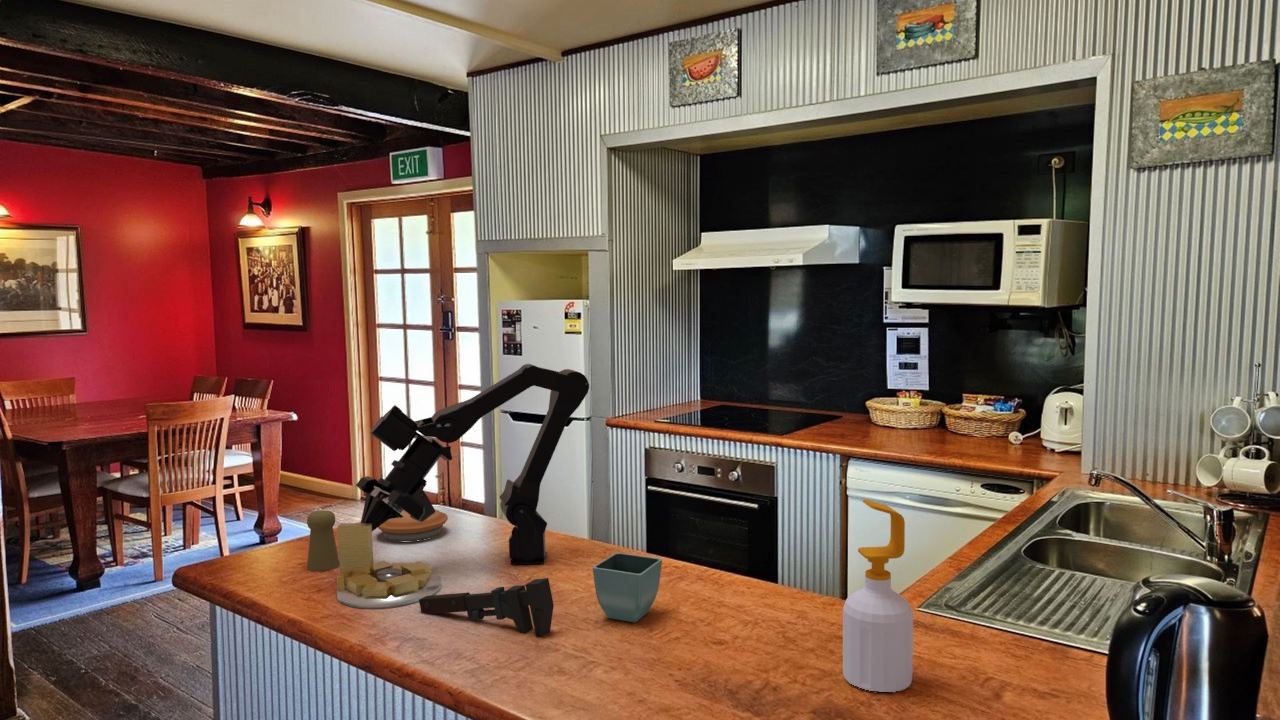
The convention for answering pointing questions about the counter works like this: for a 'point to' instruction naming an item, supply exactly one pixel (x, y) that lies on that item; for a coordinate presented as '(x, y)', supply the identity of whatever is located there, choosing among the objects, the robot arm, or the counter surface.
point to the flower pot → (627, 585)
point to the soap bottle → (879, 620)
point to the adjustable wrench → (501, 605)
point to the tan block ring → (374, 565)
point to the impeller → (390, 600)
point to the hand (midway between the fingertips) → (360, 536)
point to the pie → (413, 527)
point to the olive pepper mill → (322, 542)
